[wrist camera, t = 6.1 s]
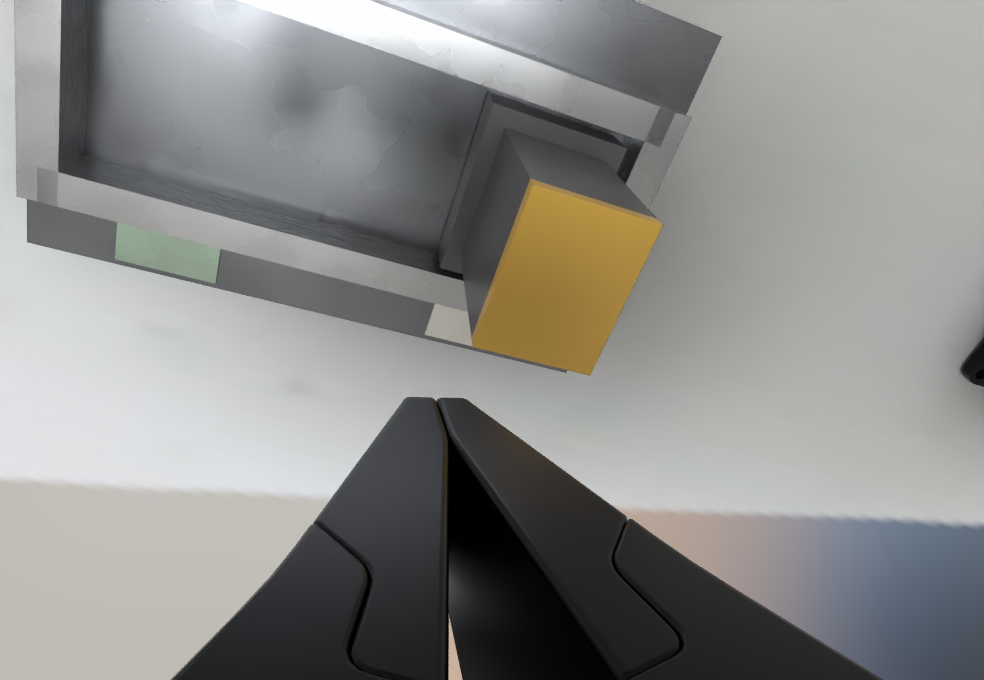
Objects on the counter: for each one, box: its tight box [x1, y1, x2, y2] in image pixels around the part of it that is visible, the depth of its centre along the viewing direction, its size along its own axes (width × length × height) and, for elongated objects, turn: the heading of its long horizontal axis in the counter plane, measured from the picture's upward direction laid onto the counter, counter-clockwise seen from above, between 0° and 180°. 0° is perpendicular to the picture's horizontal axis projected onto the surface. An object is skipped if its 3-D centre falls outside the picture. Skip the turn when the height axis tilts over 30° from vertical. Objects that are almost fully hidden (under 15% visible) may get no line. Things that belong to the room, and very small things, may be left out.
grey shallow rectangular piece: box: [14, 0, 722, 373], centre depth 19 cm, size 18×12×3 cm, turn 71°
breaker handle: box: [439, 92, 663, 375], centre depth 17 cm, size 4×5×7 cm
